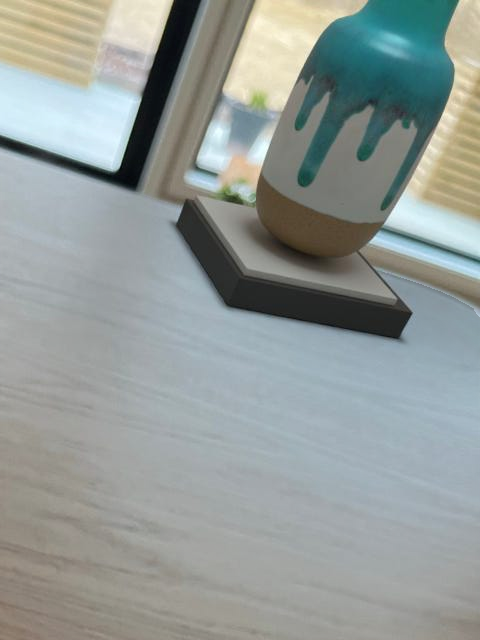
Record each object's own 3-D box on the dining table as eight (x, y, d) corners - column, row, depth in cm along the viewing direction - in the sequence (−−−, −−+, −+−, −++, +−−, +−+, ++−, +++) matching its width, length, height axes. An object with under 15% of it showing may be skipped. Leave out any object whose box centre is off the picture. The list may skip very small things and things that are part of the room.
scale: (331, 257, 91) (346, 226, 89) (398, 338, 81) (417, 305, 80) (175, 224, 87) (188, 190, 85) (227, 305, 77) (243, 270, 75)
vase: (278, 272, 77) (414, -21, 64) (213, 207, 83) (324, -70, 71) (387, 285, 81) (535, 13, 68) (317, 222, 88) (439, -36, 75)
